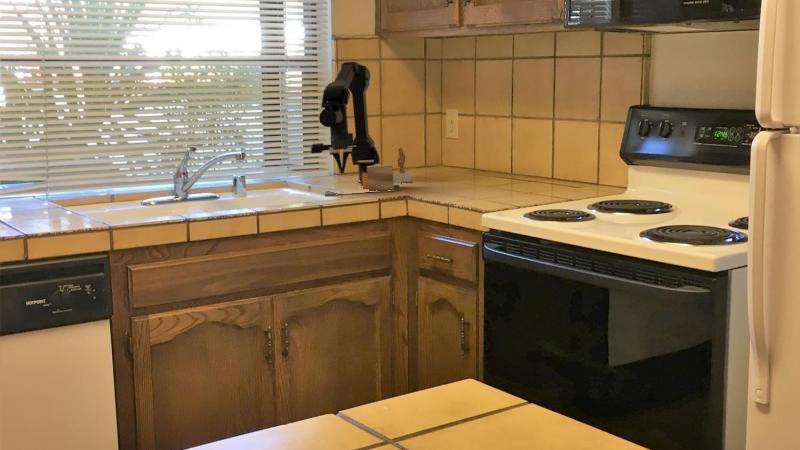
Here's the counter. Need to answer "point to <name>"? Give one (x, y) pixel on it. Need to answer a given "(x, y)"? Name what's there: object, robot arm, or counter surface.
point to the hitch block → (380, 177)
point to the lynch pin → (396, 178)
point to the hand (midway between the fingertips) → (342, 173)
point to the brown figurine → (401, 163)
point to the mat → (396, 187)
